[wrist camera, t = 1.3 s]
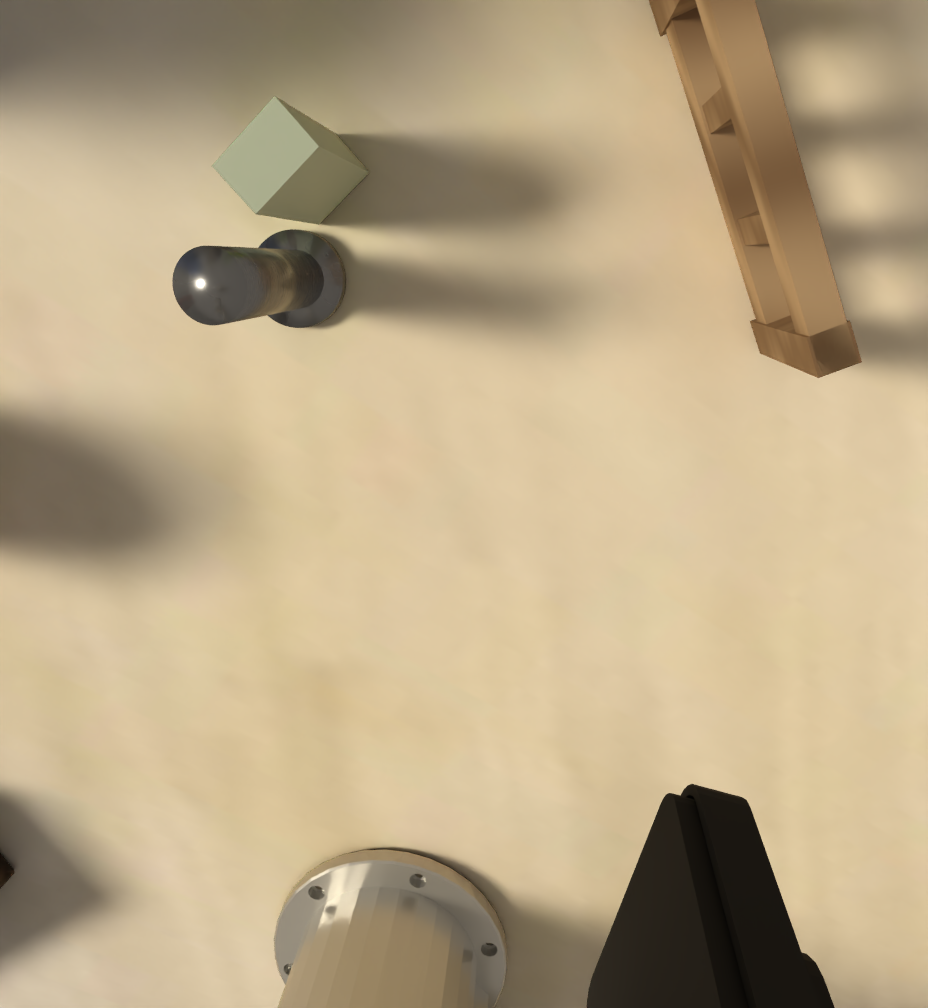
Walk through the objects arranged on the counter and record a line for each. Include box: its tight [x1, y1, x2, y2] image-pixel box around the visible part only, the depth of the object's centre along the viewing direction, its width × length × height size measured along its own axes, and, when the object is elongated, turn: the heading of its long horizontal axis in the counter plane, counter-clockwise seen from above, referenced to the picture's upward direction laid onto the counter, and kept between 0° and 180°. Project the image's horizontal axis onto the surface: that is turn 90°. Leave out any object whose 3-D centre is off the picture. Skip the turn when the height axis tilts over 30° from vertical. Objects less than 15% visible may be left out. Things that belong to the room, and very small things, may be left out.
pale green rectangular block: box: [212, 96, 369, 224], centre depth 30 cm, size 2×3×8 cm, turn 132°
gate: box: [649, 0, 862, 378], centre depth 29 cm, size 14×1×8 cm, turn 22°
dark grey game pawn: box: [173, 230, 346, 328], centre depth 30 cm, size 4×4×10 cm
